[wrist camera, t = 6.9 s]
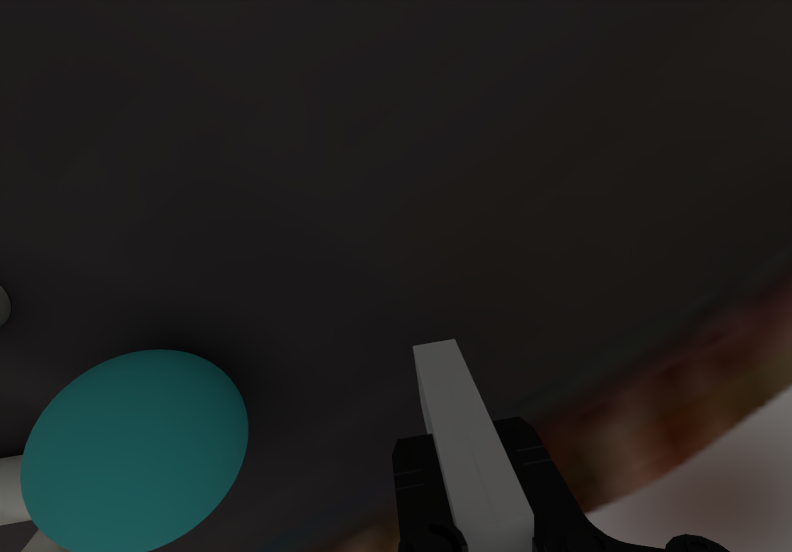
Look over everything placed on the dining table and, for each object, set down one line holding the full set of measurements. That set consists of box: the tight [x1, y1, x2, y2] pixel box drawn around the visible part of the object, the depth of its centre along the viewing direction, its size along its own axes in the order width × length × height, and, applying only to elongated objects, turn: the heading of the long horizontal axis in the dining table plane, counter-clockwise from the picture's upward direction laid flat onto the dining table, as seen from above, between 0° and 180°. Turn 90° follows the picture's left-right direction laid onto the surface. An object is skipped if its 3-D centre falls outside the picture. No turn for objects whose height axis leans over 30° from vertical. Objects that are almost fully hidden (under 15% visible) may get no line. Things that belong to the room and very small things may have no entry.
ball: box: [20, 349, 248, 552], centre depth 12 cm, size 6×6×6 cm
